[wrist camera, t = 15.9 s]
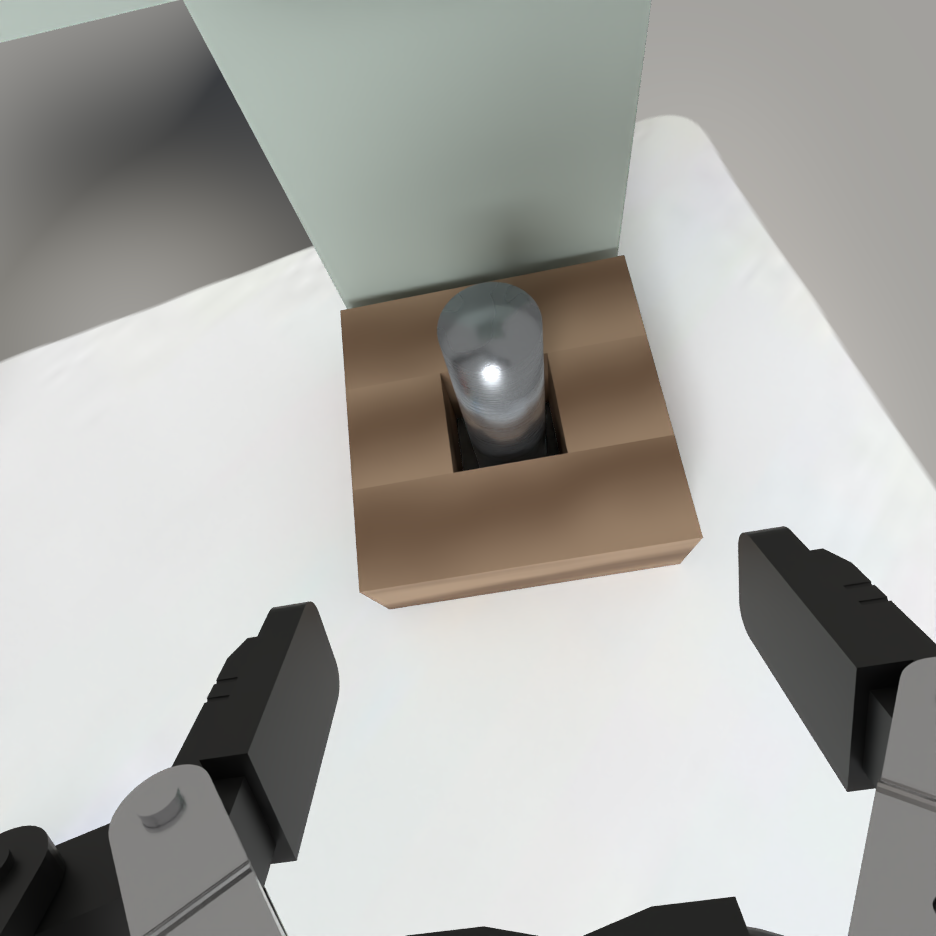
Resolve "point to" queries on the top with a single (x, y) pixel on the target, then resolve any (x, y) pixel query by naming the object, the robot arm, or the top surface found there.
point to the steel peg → (497, 370)
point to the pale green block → (426, 126)
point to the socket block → (519, 483)
